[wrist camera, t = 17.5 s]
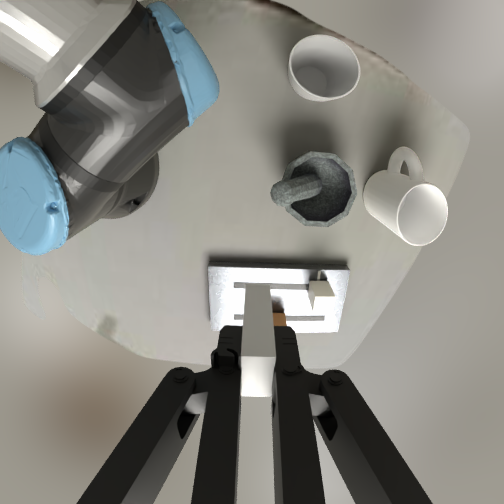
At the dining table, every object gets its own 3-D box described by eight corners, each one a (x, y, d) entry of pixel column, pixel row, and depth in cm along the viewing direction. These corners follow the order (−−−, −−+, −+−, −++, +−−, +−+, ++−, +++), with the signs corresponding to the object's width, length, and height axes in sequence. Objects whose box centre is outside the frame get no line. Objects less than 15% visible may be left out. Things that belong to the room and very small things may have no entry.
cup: (329, 115, 38) (350, 109, 28) (274, 97, 37) (280, 85, 28) (343, 67, 35) (366, 50, 25) (289, 49, 34) (299, 25, 25)
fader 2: (307, 295, 46) (312, 312, 41) (309, 280, 45) (315, 296, 40) (326, 295, 46) (332, 311, 41) (328, 281, 45) (335, 296, 40)
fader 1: (265, 325, 48) (266, 343, 43) (266, 312, 47) (267, 330, 42) (283, 325, 48) (286, 344, 43) (285, 313, 47) (287, 330, 42)
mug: (410, 146, 39) (454, 153, 27) (406, 219, 43) (445, 245, 32) (363, 142, 39) (399, 146, 28) (361, 219, 43) (393, 247, 32)
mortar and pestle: (345, 153, 40) (376, 160, 28) (339, 214, 43) (365, 242, 32) (268, 147, 40) (273, 150, 28) (265, 210, 43) (268, 237, 32)
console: (212, 323, 51) (211, 330, 49) (209, 261, 46) (207, 266, 44) (335, 325, 51) (337, 332, 49) (346, 265, 46) (350, 270, 44)
